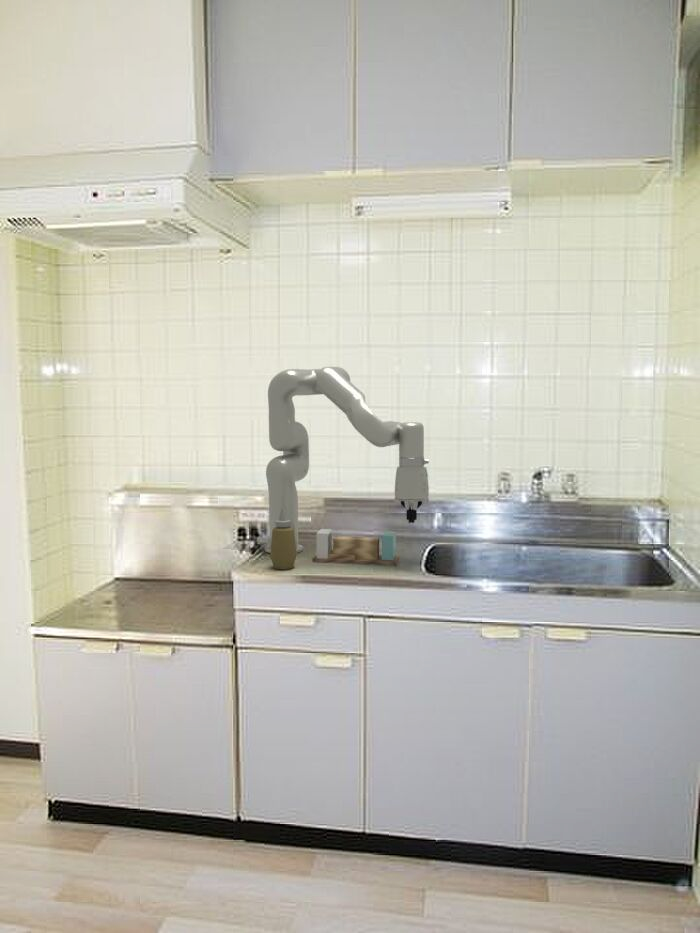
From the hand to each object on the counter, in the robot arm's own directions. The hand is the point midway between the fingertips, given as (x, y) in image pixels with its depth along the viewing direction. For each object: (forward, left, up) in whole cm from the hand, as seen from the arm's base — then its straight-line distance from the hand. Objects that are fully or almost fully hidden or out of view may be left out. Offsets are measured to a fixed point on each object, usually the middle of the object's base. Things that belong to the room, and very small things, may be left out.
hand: (411, 522), depth 228 cm
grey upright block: (-28, 0, -13) cm, 30 cm away
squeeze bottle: (-37, -13, -13) cm, 42 cm away
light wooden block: (-17, 0, -12) cm, 21 cm away
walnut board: (-17, 0, -13) cm, 21 cm away
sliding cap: (-7, 0, -12) cm, 13 cm away
